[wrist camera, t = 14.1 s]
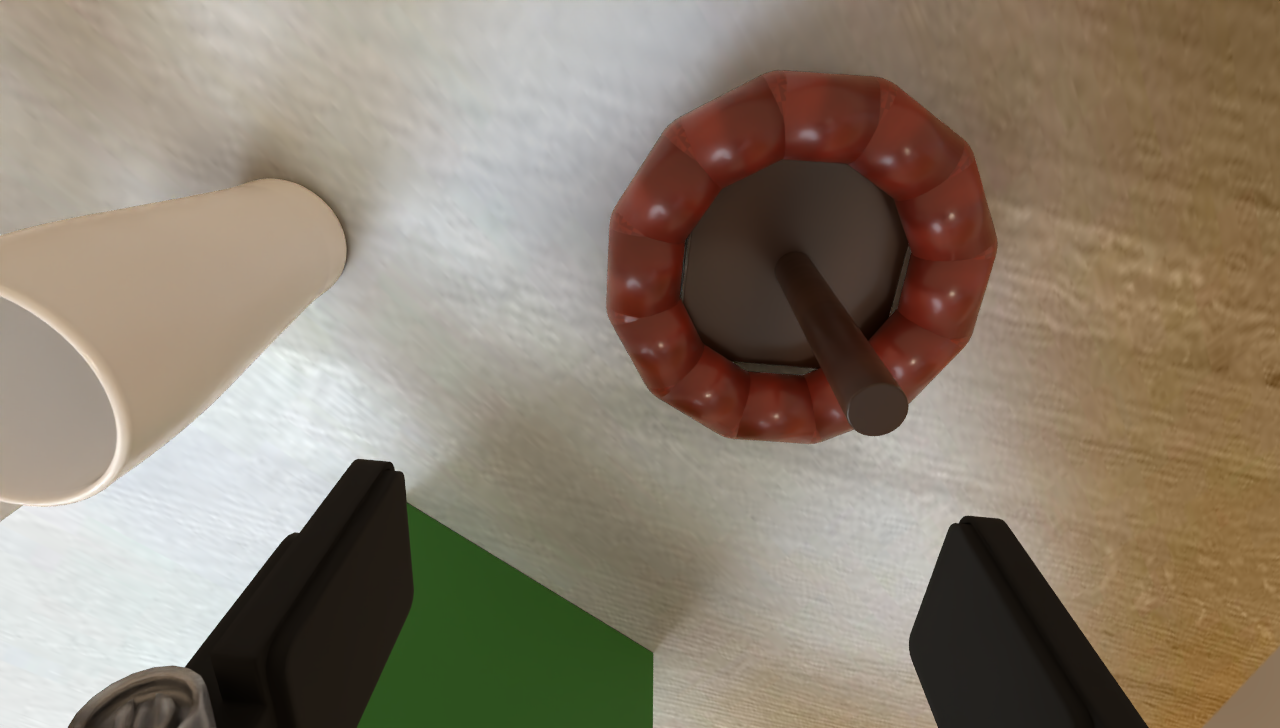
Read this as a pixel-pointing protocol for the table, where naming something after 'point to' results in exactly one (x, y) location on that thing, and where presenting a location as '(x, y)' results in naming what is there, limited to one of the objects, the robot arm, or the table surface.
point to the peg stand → (802, 280)
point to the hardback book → (502, 650)
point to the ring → (748, 142)
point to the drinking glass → (144, 325)
